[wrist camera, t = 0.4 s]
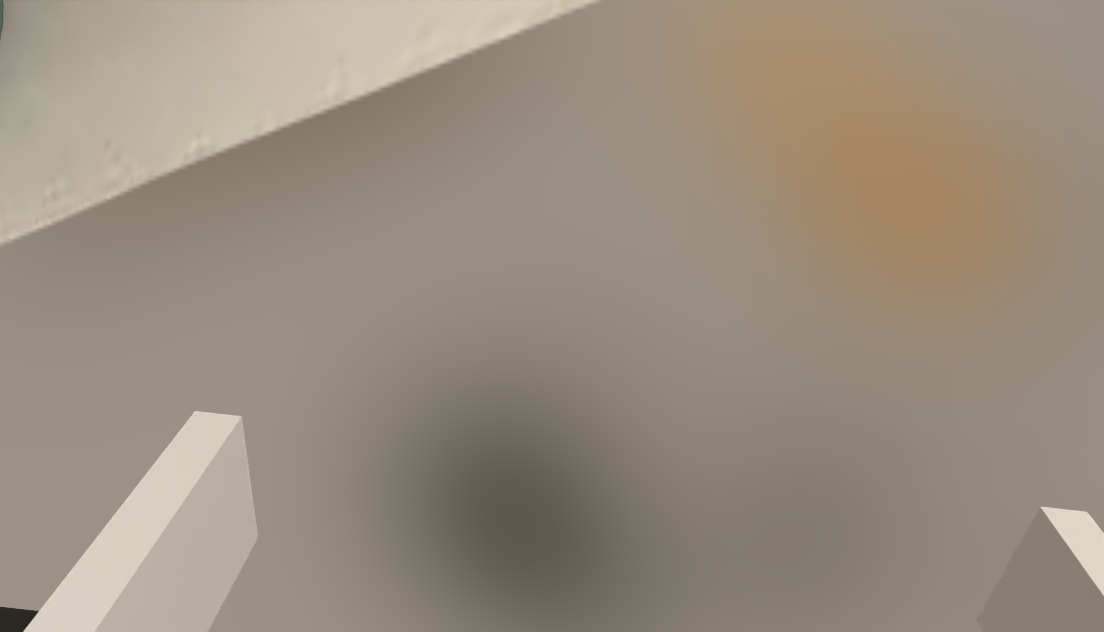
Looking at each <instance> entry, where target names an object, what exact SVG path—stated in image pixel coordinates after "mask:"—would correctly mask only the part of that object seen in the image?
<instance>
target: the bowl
mask: <svg viewBox="0 0 1104 632" xmlns="http://www.w3.org/2000/svg"><path fill="white" fill-rule="evenodd" d="M2 22H3V2H2V0H0V37H1V32H2Z"/></svg>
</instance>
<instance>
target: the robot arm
mask: <svg viewBox="0 0 1104 632" xmlns="http://www.w3.org/2000/svg"><path fill="white" fill-rule="evenodd" d="M257 538H258V534H257V527H256V520H255V511H254V504H253V497H252V489H251V482H250V474H249V467H248V460H247V453H246V445H245V437H244V430H243V422H242V417H241V416H234V415H225V414H215V413H207V412H198V411H195V412H194V413H193V415H192V416H191V417H190V418H189V420H188V421H187V422H186V424H185V425H184V426H183V427H182V429H181V430H180V431H179V433H178V434H177V435H176V437H175V438H174V439H173V440H172V442H171V443H170V444H169V445H168V447H167V448H166V449H165V451H164V452H163V453H162V454H161V456H160V457H159V458H158V460H157V461H156V462H155V463H154V465H153V466H152V467H151V469H150V470H149V471H148V472H147V474H146V475H145V476H144V477H143V479H142V480H141V481H140V483H139V484H138V485H137V486H136V488H135V489H134V490H133V492H132V493H131V494H130V496H129V497H128V498H127V499H126V501H125V502H124V503H123V505H122V506H121V507H120V508H119V510H118V511H117V512H116V513H115V515H114V516H113V517H112V519H111V520H110V521H109V522H108V524H107V525H106V526H105V528H104V529H103V530H102V531H101V533H100V534H99V535H98V536H97V538H96V539H95V540H94V542H93V543H92V544H91V545H90V547H89V548H88V549H87V551H86V552H85V553H84V554H83V556H82V557H81V558H80V560H79V561H78V562H77V563H76V565H75V566H74V567H73V568H72V570H71V571H70V572H69V574H68V575H67V576H66V578H65V579H64V580H63V581H62V583H61V584H60V585H59V586H58V588H57V589H56V591H55V592H54V593H53V594H52V595H51V597H50V598H49V599H48V601H47V602H46V603H45V605H44V606H43V607H42V608H41V610H40V611H33V610H24V609H15V608H6V607H0V632H208V631H209V629H210V627H211V625H212V623H213V621H214V619H215V618H216V616H217V614H218V612H219V610H220V608H221V606H222V604H223V602H224V601H225V599H226V597H227V595H228V593H229V591H230V589H231V587H232V586H233V583H234V582H235V580H236V578H237V576H238V574H239V572H240V570H241V569H242V567H243V565H244V563H245V561H246V559H247V557H248V555H249V554H250V551H251V550H252V548H253V546H254V544H255V542H256V540H257ZM977 620H978V622H979V624H980V626H981V628H982V630H983V632H1104V533H1103V532H1102V531H1101V530H1100V528H1099V527H1098V526H1097V524H1096V523H1095V522H1094V520H1093V519H1092V518H1091V517H1090V515H1089V514H1088V513H1087V512H1083V511H1074V510H1065V509H1056V508H1048V507H1040V508H1039V510H1038V512H1037V513H1036V515H1035V517H1034V519H1033V520H1032V522H1031V524H1030V526H1029V528H1028V529H1027V531H1026V533H1025V534H1024V536H1023V538H1022V540H1021V542H1020V543H1019V545H1018V547H1017V549H1016V550H1015V552H1014V554H1013V556H1012V558H1011V559H1010V561H1009V563H1008V565H1007V566H1006V568H1005V570H1004V572H1003V573H1002V575H1001V577H1000V579H999V580H998V582H997V584H996V586H995V588H994V589H993V591H992V593H991V595H990V596H989V598H988V600H987V602H986V603H985V605H984V607H983V609H982V610H981V612H980V614H979V616H978V618H977Z"/></svg>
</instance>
